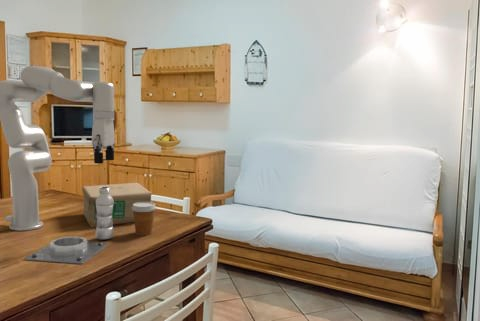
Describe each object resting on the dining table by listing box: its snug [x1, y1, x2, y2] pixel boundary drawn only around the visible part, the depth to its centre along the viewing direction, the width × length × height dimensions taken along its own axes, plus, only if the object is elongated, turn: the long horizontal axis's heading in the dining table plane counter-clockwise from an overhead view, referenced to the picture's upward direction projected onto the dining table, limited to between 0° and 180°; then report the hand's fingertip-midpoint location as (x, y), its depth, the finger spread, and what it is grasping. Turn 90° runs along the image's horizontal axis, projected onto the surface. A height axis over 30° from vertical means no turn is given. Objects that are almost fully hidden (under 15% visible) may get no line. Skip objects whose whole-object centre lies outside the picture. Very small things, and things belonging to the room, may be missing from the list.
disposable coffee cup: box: [132, 201, 157, 236], centre depth 171 cm, size 10×10×12 cm
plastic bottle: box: [95, 187, 115, 241], centre depth 162 cm, size 6×7×20 cm
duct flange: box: [24, 235, 109, 265], centre depth 147 cm, size 20×20×4 cm
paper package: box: [82, 182, 152, 228], centre depth 194 cm, size 27×26×14 cm
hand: (104, 161), depth 159 cm, fingers open, 9 cm apart
